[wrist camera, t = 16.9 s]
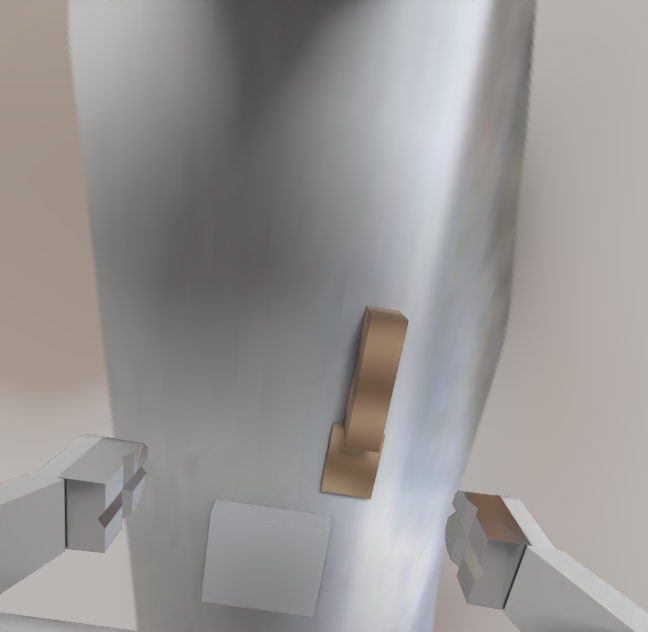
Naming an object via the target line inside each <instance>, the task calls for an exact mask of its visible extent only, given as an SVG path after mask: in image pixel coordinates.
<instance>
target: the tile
mask: <svg viewBox="0 0 648 632" xmlns="http://www.w3.org/2000/svg"><path fill="white" fill-rule="evenodd" d="M330 533H331V516H327V515H320V514H314V513H307V512H300V511H293V510H287V509H280V508H273V507H267V506H260V505H253V504H246V503H240V502H233V501H226V500H220V499H216V501H215V503H214V506H213V508H212V510H211V514H210V523H209V532H208V541H207V549H206V558H205V567H204V576H203V585H202V594H201V602H208V603H215V604H222V605H229V606H236V607H243V608H250V609H257V610H264V611H271V612H278V613H285V614H292V615H299V616H306V617H313V618H314V614H315V609H316V604H317V599H318V594H319V589H320V584H321V578H322V573H323V568H324V563H325V558H326V553H327V548H328V543H329V538H330Z"/></svg>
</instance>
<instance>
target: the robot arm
mask: <svg viewBox="0 0 648 632" xmlns="http://www.w3.org/2000/svg"><path fill="white" fill-rule="evenodd" d="M146 459H147V446H146V445H145V444H144V443H138V442H133V441H127V440H121V439H115V438H109V437H102V436H96V435H89V434H86V435H81V436H80V437H79V438H78V439H76V440H75V441H74V442H73V443H72V444H70V445H69V446H68V447H67V448H65V449H64V450H63V451H62V452H61V453H59V454H58V455H57V456H56V457H55V458H53V459H52V460H51V461H50V462H48V463H47V464H46V465H45V466H44V467H42V468H41V469H40V470H39V471H38V472H36V473H35V474H25V475H22V476H19V477H16V478H13V479H11V480H8V481H5V482H2V483H0V594H1V593H3V592H4V591H6V590H7V589H9V588H10V587H11V586H13V585H15V584H16V583H18V582H19V581H21V580H22V579H24V578H25V577H27V576H28V575H30V574H31V573H33V572H34V571H36V570H37V569H39V568H40V567H42V566H43V565H45V564H46V563H48V562H49V561H51V560H52V559H54V558H56V557H57V556H59V555H60V554H62V553H63V552H65V549H72V550H82V551H91V552H101V553H105V551H106V550H107V549H108V547H109V546H110V544H111V543H112V542H113V540H114V539H115V537H116V536H117V534H118V533H119V532H120V530H121V528H122V519H123V518H125V517H127V516H129V515H130V514H132V513H133V511H134V510H135V508H136V507H137V505H138V504H139V501H140V499H141V497H142V494H143V492H144V488H145V483H146V472H145V471H144V469H143V468H142V466H141V465H142V464H143V463H144V461H145V460H146ZM453 506H454V508H455V510H456V511H455V512H454V513H453V514H452V515H451V516H449V517H448V520H447V524H446V530H445V541H446V546H447V551H448V553H449V556H450V559H451V560H452V561H453V562H454V563H455V564H456V565H457V566H458V567H459V570H458V574H457V578H458V581H459V583H460V586H461V588H462V591H463V594H464V596H465V599H466V602H467V604H472V605H477V606H483V607H489V608H495V609H501V610H504V611H503V612H504V613H505V614H506V616H507V617H508V618H509V619H510V620H511V621H512V623H513V624H514V625H515V626H516V627H517V628H518V630H519V631H520V632H648V613H647V612H645V611H644V610H643V609H641V608H640V607H639V606H637V605H636V604H634V603H633V602H631V601H630V600H629V599H628V598H626V597H625V596H623V595H622V594H620V593H619V592H618V591H617V590H615V589H614V588H612V587H611V586H610V585H608V584H607V583H606V582H604V581H603V580H601V579H600V578H599V577H597V576H596V575H594V574H593V573H592V572H590V571H589V570H588V569H586V568H585V567H583V566H582V565H581V564H579V563H578V562H577V561H575V560H574V559H572V558H571V557H570V556H568V555H567V554H566V553H564V552H563V551H560V550H555V548H554V547H553V546H552V544H551V543H550V541H549V540H548V539H547V537H546V536H545V535H544V533H543V532H542V530H541V529H540V527H539V526H538V525H537V523H536V522H535V520H534V519H533V518H532V516H531V515H530V513H529V512H528V511H527V509H526V508H525V506H524V505H523V504H522V502H521V501H520V500H519V499H517V498H516V497H510V496H502V495H488V494H481V493H474V492H467V491H460V490H458V491H457V493H456V494H455V496H454V499H453ZM0 632H141V631H134V630H125V629H118V628H111V627H104V626H96V625H89V624H82V623H74V622H66V621H59V620H52V619H44V618H37V617H30V616H22V615H15V614H7V613H0Z"/></svg>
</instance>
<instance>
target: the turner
mask: <svg viewBox="0 0 648 632" xmlns="http://www.w3.org/2000/svg"><path fill="white" fill-rule="evenodd" d="M407 325H408V320H407V319H406V318H405V317H404V316H403V315H402V314H401V313H400V312H399V311H394V310H389V309H383V308H377V307H371V306H367V307H366V312H365V317H364V322H363V327H362V332H361V337H360V342H359V347H358V352H357V357H356V362H355V367H354V373H353V378H352V383H351V388H350V393H349V398H348V403H347V408H346V413H345V418H344V423H343V424H337V423H333V427H332V432H331V437H330V442H329V448H328V453H327V458H326V463H325V469H324V474H323V479H322V484H321V491H322V492H329V493H335V494H342V495H348V496H354V497H361V498H367V499H371V495H372V491H373V486H374V482H375V478H376V473H377V469H378V464H379V460H380V455H381V451H382V447H383V442H384V438H385V435H384V428H385V423H386V419H387V415H388V410H389V406H390V401H391V397H392V392H393V388H394V383H395V379H396V374H397V370H398V365H399V361H400V356H401V352H402V348H403V343H404V339H405V334H406V330H407Z"/></svg>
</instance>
